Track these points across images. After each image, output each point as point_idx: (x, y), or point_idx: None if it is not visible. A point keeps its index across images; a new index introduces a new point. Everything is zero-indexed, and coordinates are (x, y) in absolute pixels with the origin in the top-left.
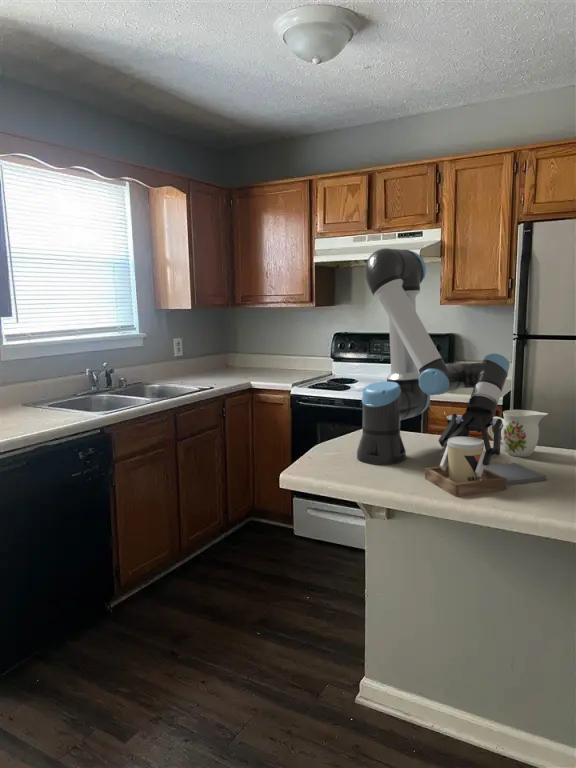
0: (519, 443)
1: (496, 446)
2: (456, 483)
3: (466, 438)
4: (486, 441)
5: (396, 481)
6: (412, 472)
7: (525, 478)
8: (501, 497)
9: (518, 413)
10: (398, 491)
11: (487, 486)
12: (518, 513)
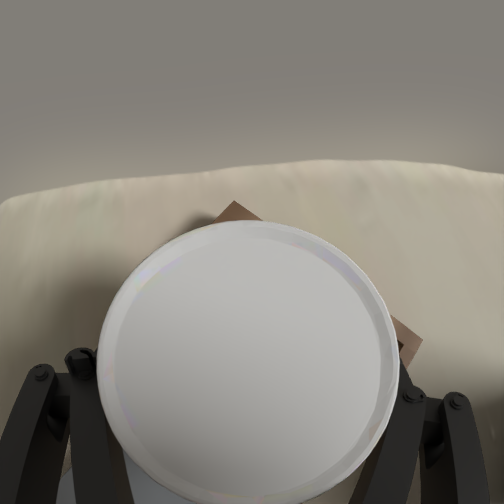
0: None
1: (32, 384)
2: (236, 217)
3: (268, 465)
4: (84, 428)
5: (451, 262)
6: (458, 382)
7: (65, 479)
8: (102, 290)
9: None
10: (398, 185)
11: None
12: (65, 195)
